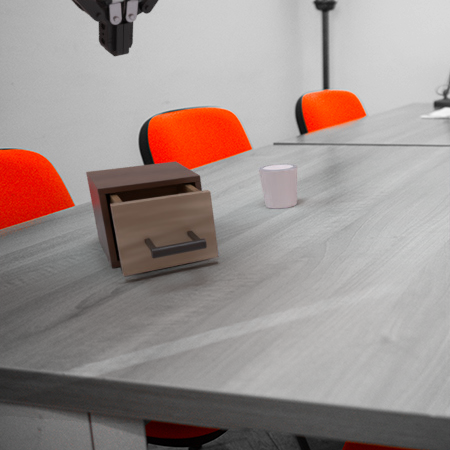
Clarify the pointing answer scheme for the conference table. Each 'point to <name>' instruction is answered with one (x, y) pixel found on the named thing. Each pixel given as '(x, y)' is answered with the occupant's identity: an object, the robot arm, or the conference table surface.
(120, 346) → the conference table surface
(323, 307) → the conference table surface
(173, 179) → the cabinet
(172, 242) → the drawer
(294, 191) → the white cup
